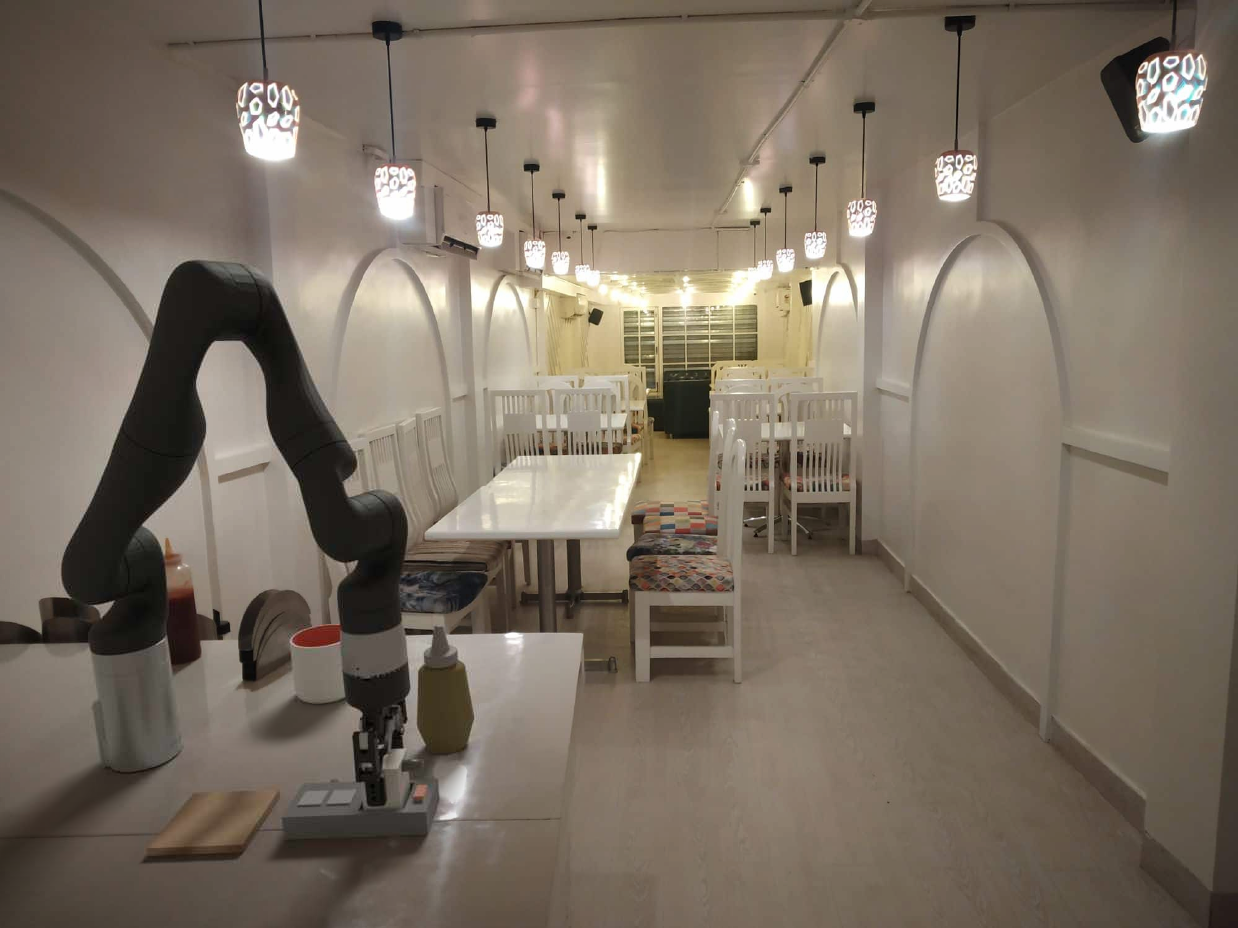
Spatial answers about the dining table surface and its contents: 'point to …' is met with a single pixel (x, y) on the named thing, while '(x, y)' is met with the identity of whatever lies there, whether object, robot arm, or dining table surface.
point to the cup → (317, 664)
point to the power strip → (357, 812)
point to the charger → (396, 780)
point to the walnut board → (215, 823)
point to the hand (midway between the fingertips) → (386, 783)
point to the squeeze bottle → (443, 698)
